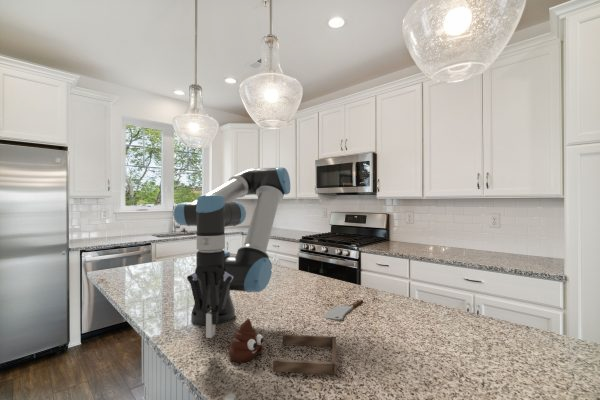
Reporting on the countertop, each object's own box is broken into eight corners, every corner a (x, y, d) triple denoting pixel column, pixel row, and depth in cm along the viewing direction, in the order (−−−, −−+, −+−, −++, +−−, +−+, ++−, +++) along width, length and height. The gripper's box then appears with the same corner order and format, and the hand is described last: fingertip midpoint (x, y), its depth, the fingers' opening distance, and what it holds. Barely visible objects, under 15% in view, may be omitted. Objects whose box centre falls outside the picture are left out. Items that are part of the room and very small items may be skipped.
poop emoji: (246, 343, 86) (246, 311, 86) (270, 350, 82) (269, 316, 82) (221, 358, 78) (221, 323, 78) (246, 367, 73) (246, 330, 74)
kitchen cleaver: (346, 297, 126) (368, 300, 120) (346, 299, 126) (368, 302, 120) (315, 315, 107) (339, 320, 101) (315, 318, 107) (339, 323, 101)
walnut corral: (272, 371, 72) (272, 360, 72) (283, 342, 86) (283, 334, 86) (336, 375, 70) (336, 364, 70) (336, 345, 84) (336, 336, 84)
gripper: (181, 252, 78) (181, 340, 78) (228, 252, 77) (228, 343, 77) (194, 247, 86) (194, 328, 85) (237, 248, 84) (237, 330, 84)
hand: (210, 335), depth 81 cm, fingers closed
